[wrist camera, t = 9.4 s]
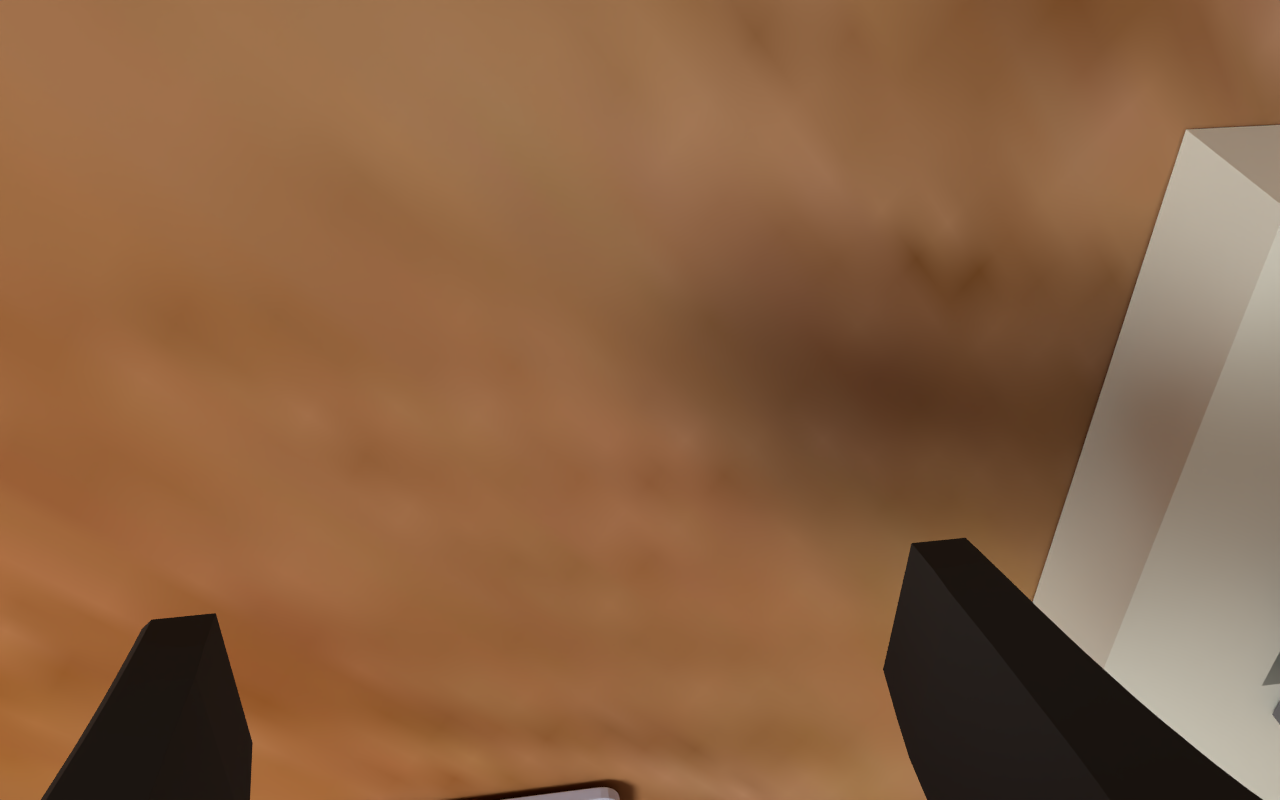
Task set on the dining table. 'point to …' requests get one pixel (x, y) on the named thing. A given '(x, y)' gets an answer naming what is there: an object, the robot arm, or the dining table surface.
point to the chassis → (1190, 469)
